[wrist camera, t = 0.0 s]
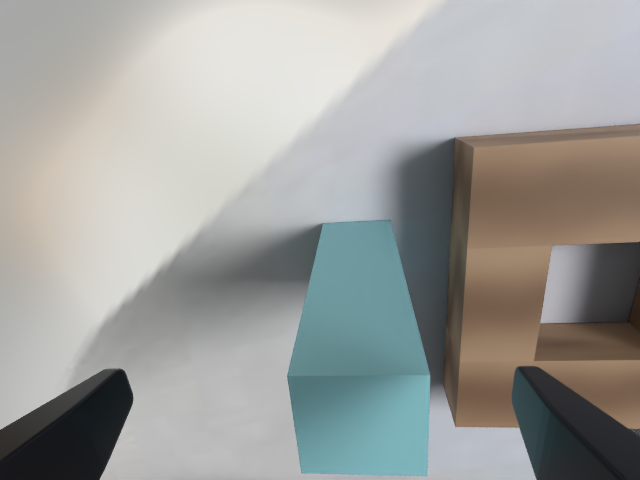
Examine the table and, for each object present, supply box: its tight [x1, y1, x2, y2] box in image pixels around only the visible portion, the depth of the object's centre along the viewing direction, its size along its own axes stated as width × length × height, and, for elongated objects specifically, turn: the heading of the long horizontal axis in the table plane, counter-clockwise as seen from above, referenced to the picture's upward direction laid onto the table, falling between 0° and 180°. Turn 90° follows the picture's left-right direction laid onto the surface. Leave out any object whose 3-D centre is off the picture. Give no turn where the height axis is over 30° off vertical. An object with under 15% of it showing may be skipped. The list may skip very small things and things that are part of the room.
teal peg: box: [287, 220, 430, 476], centre depth 17 cm, size 4×4×13 cm
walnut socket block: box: [443, 124, 640, 429], centre depth 21 cm, size 17×15×4 cm
